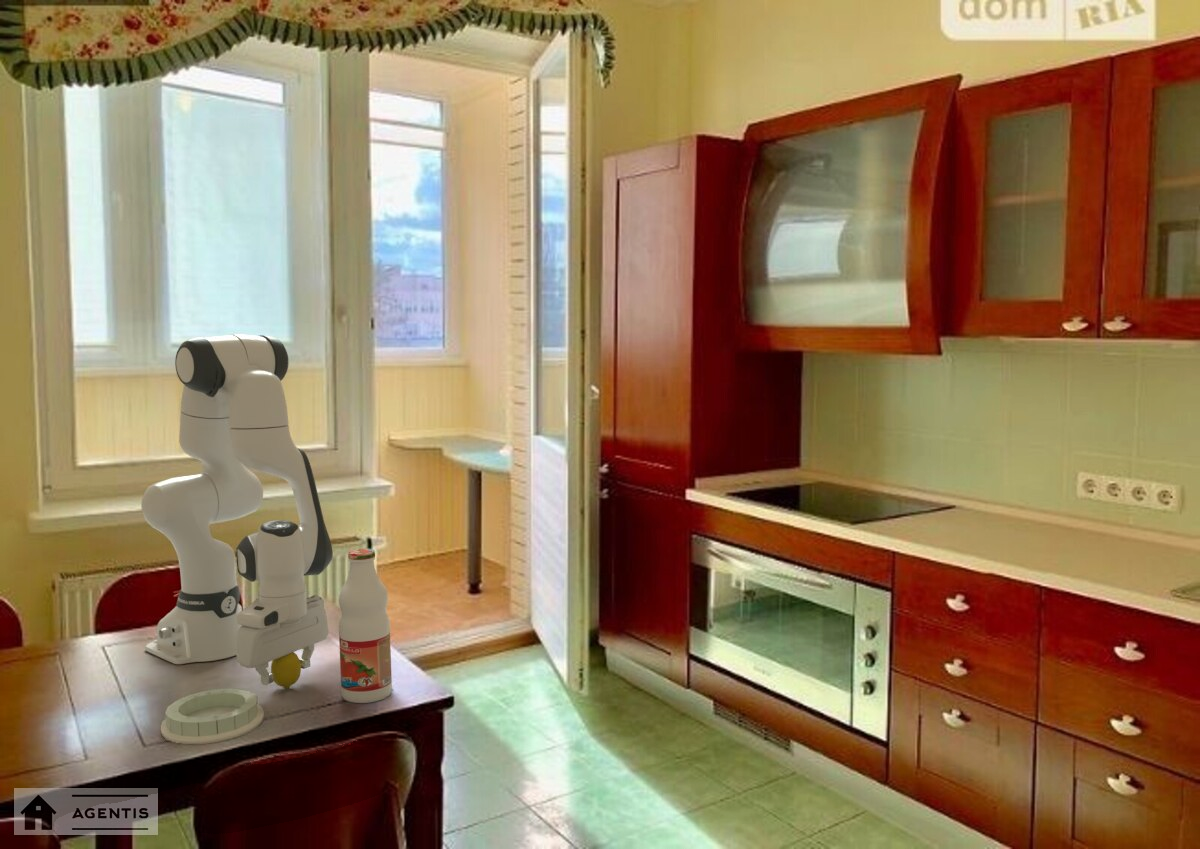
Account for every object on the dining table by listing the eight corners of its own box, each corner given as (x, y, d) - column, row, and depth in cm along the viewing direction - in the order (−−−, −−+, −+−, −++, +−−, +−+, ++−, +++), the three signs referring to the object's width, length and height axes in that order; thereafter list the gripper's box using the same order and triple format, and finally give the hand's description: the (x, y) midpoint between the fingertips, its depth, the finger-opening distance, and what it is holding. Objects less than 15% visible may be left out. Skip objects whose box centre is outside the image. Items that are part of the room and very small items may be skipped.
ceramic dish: (139, 732, 169) (138, 713, 169) (220, 698, 184) (219, 680, 184) (205, 752, 161) (204, 732, 161) (284, 715, 176) (283, 697, 175)
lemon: (292, 695, 185) (290, 654, 184) (266, 693, 186) (264, 653, 186) (307, 684, 191) (305, 645, 190) (281, 682, 192) (279, 643, 191)
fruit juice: (401, 694, 185) (396, 551, 182) (357, 708, 179) (351, 560, 175) (376, 681, 192) (370, 543, 189) (332, 694, 185) (326, 551, 182)
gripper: (311, 590, 197) (314, 656, 199) (229, 617, 180) (232, 689, 181) (334, 594, 194) (337, 661, 196) (252, 622, 177) (256, 696, 178)
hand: (286, 675), depth 188 cm, fingers open, 8 cm apart
